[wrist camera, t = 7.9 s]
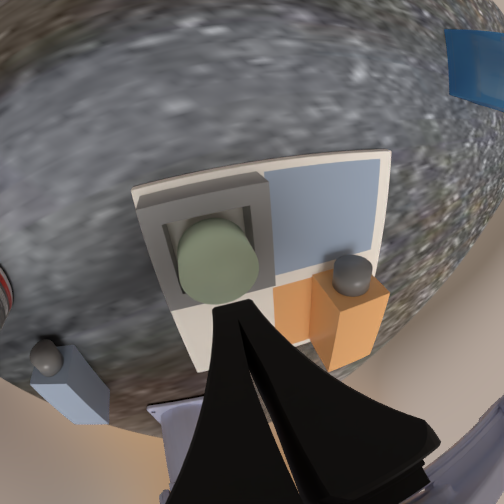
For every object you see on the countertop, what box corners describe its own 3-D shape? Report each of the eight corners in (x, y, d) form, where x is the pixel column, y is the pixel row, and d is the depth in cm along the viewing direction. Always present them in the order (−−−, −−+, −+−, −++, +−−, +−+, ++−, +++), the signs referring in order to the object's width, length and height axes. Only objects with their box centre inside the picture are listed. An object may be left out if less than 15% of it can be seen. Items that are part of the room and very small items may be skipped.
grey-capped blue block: (110, 388, 21) (109, 424, 18) (77, 390, 20) (74, 424, 17) (65, 330, 16) (55, 371, 13) (30, 335, 16) (18, 372, 12)
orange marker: (347, 323, 23) (369, 354, 20) (308, 337, 23) (328, 372, 19) (360, 244, 19) (394, 275, 15) (312, 257, 18) (343, 293, 15)
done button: (250, 271, 15) (261, 294, 13) (186, 286, 14) (189, 311, 13) (243, 210, 13) (255, 229, 11) (169, 227, 12) (169, 248, 11)
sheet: (360, 317, 25) (363, 321, 24) (196, 367, 22) (197, 372, 21) (385, 148, 16) (391, 151, 15) (132, 187, 13) (130, 190, 13)
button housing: (265, 266, 17) (275, 285, 16) (168, 289, 16) (170, 311, 15) (256, 171, 14) (268, 181, 12) (139, 195, 13) (135, 210, 11)
